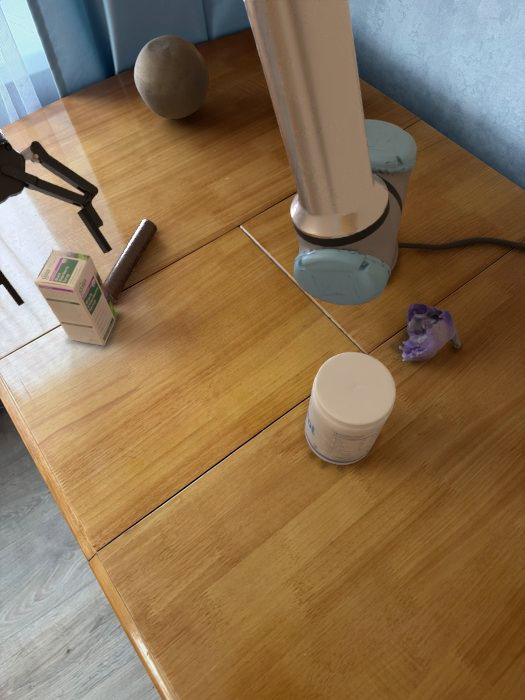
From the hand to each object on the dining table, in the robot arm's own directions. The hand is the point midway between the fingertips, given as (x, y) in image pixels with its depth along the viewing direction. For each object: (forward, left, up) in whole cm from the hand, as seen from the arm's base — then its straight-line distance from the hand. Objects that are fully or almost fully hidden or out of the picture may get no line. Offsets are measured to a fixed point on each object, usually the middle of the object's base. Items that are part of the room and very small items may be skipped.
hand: (66, 277), depth 72 cm
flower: (-50, -12, -11) cm, 53 cm away
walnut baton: (-1, -12, -11) cm, 17 cm away
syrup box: (-1, +1, -11) cm, 11 cm away
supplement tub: (-41, +6, -11) cm, 43 cm away
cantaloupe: (+7, -51, -11) cm, 53 cm away
